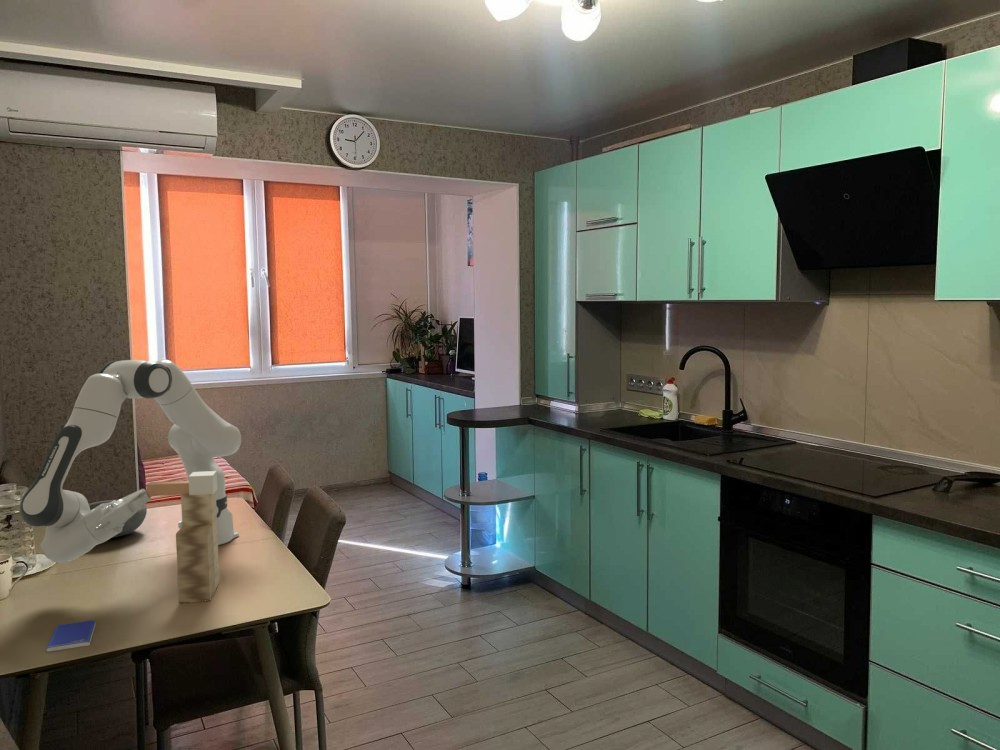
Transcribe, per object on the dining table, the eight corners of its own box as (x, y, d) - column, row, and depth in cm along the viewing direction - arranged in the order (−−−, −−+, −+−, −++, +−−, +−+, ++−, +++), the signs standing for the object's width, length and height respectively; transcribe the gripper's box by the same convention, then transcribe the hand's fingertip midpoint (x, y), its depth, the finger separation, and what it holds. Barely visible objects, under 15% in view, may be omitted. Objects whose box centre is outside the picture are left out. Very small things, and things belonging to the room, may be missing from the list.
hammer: (217, 489, 201) (216, 470, 200) (213, 494, 196) (212, 475, 195) (152, 492, 198) (151, 473, 197) (146, 497, 192) (145, 478, 192)
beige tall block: (178, 603, 189) (174, 502, 187) (190, 584, 202) (186, 490, 200) (210, 600, 191) (206, 501, 188) (219, 582, 203) (215, 489, 201)
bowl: (115, 549, 233) (113, 518, 232) (53, 545, 237) (51, 514, 236) (162, 528, 255) (161, 499, 254) (105, 524, 259) (103, 496, 259)
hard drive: (89, 640, 166) (95, 619, 177) (46, 646, 163) (56, 625, 174) (89, 647, 166) (96, 625, 177) (47, 653, 163) (56, 631, 174)
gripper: (84, 522, 183) (135, 492, 185) (111, 501, 203) (157, 474, 205) (99, 543, 184) (149, 513, 186) (125, 520, 204) (170, 492, 206)
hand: (153, 492), depth 195 cm, fingers open, 8 cm apart
